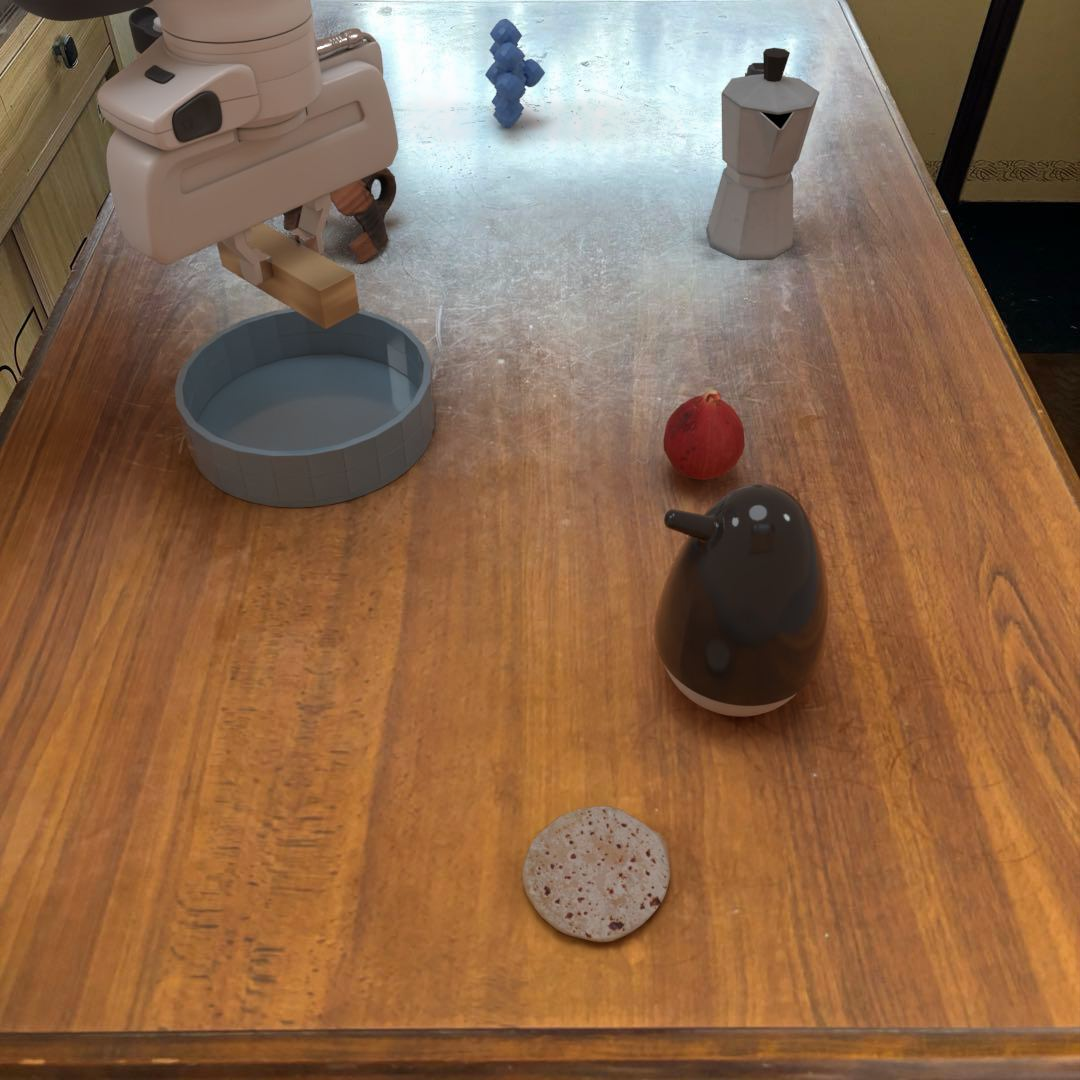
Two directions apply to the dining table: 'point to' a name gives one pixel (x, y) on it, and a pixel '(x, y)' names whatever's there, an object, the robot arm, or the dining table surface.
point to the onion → (704, 437)
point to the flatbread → (596, 873)
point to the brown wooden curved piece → (360, 211)
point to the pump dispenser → (744, 603)
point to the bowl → (306, 407)
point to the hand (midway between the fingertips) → (284, 267)
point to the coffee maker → (760, 159)
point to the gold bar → (300, 277)
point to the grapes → (510, 73)
